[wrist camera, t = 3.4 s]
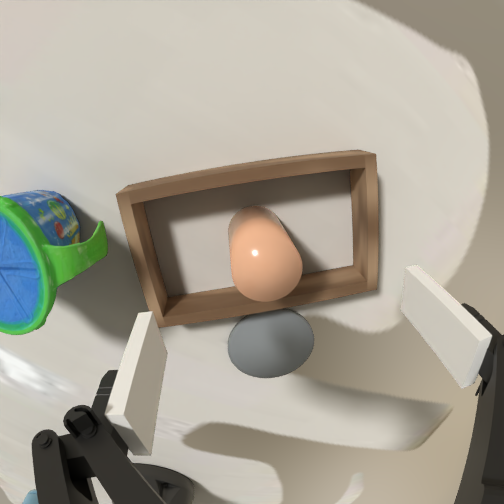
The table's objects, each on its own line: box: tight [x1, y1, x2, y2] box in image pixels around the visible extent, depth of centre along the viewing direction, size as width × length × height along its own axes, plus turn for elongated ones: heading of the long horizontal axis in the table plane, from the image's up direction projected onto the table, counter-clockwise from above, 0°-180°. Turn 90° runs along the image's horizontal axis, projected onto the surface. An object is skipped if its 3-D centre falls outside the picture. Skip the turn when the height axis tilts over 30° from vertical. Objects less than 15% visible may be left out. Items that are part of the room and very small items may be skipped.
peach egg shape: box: [228, 205, 302, 302], centre depth 25 cm, size 5×5×8 cm
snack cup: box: [0, 190, 108, 335], centre depth 21 cm, size 16×10×10 cm
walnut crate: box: [116, 150, 379, 328], centre depth 27 cm, size 12×20×4 cm, turn 98°
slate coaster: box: [228, 308, 314, 378], centre depth 33 cm, size 9×9×1 cm
